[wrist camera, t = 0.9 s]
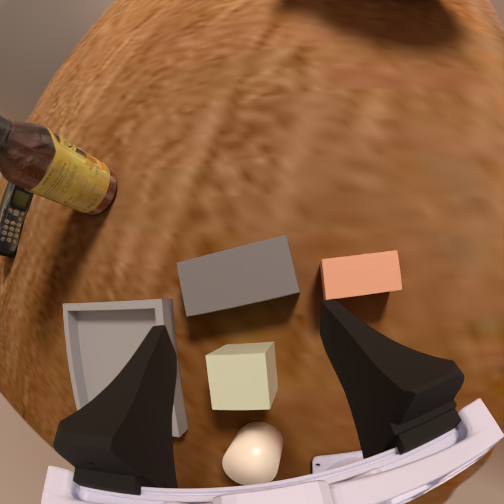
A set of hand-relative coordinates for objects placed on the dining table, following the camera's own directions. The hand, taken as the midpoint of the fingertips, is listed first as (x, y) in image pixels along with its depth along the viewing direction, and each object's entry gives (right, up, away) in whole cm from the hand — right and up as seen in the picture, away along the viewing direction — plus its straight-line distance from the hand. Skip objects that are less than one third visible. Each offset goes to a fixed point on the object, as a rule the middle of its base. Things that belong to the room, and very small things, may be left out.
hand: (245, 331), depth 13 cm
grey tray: (-13, -9, +14) cm, 21 cm away
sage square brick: (0, -7, +12) cm, 14 cm away
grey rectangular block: (0, +1, +14) cm, 14 cm away
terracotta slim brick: (+9, +1, +12) cm, 15 cm away
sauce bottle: (-18, +11, +18) cm, 28 cm away
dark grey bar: (-35, +10, +22) cm, 42 cm away
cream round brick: (+1, -15, +11) cm, 18 cm away
